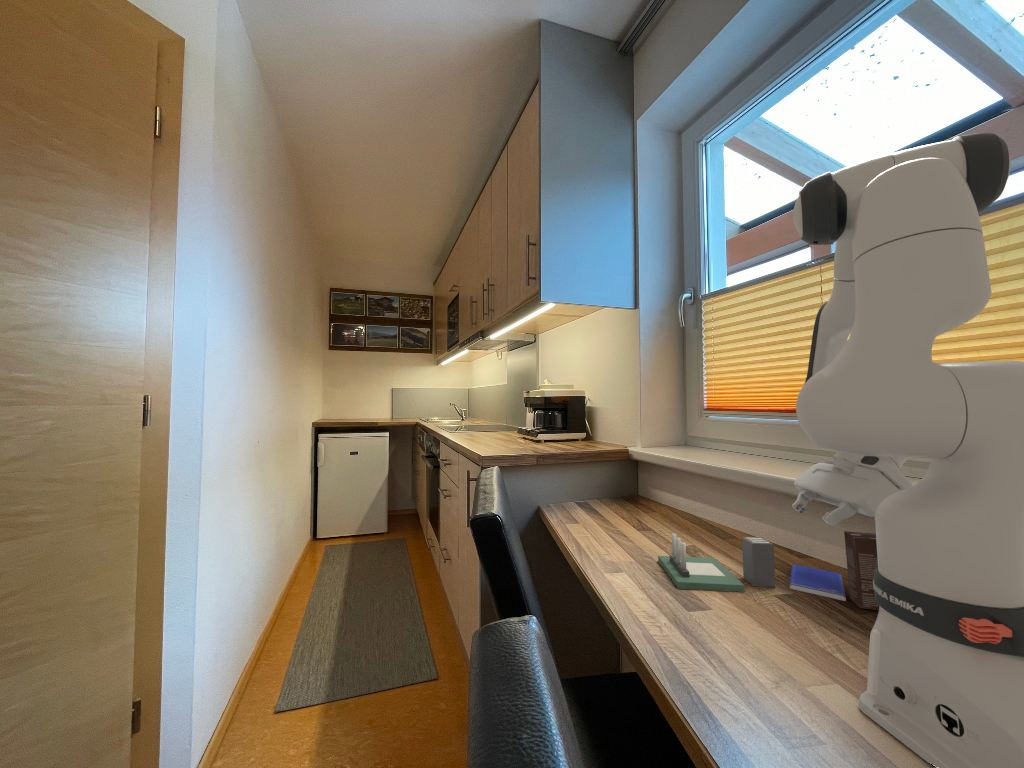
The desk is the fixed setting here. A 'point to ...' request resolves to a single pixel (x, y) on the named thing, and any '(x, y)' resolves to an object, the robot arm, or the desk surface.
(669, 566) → the header board
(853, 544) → the box
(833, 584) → the hard drive
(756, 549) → the plug
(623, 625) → the desk surface
